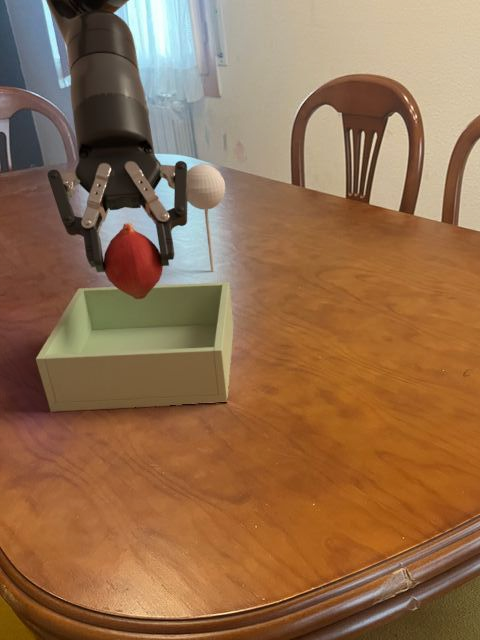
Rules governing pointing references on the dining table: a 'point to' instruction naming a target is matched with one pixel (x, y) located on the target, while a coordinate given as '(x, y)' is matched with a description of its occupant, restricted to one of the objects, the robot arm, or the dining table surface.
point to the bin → (140, 348)
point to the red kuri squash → (132, 262)
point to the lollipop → (205, 193)
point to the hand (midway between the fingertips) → (133, 265)
